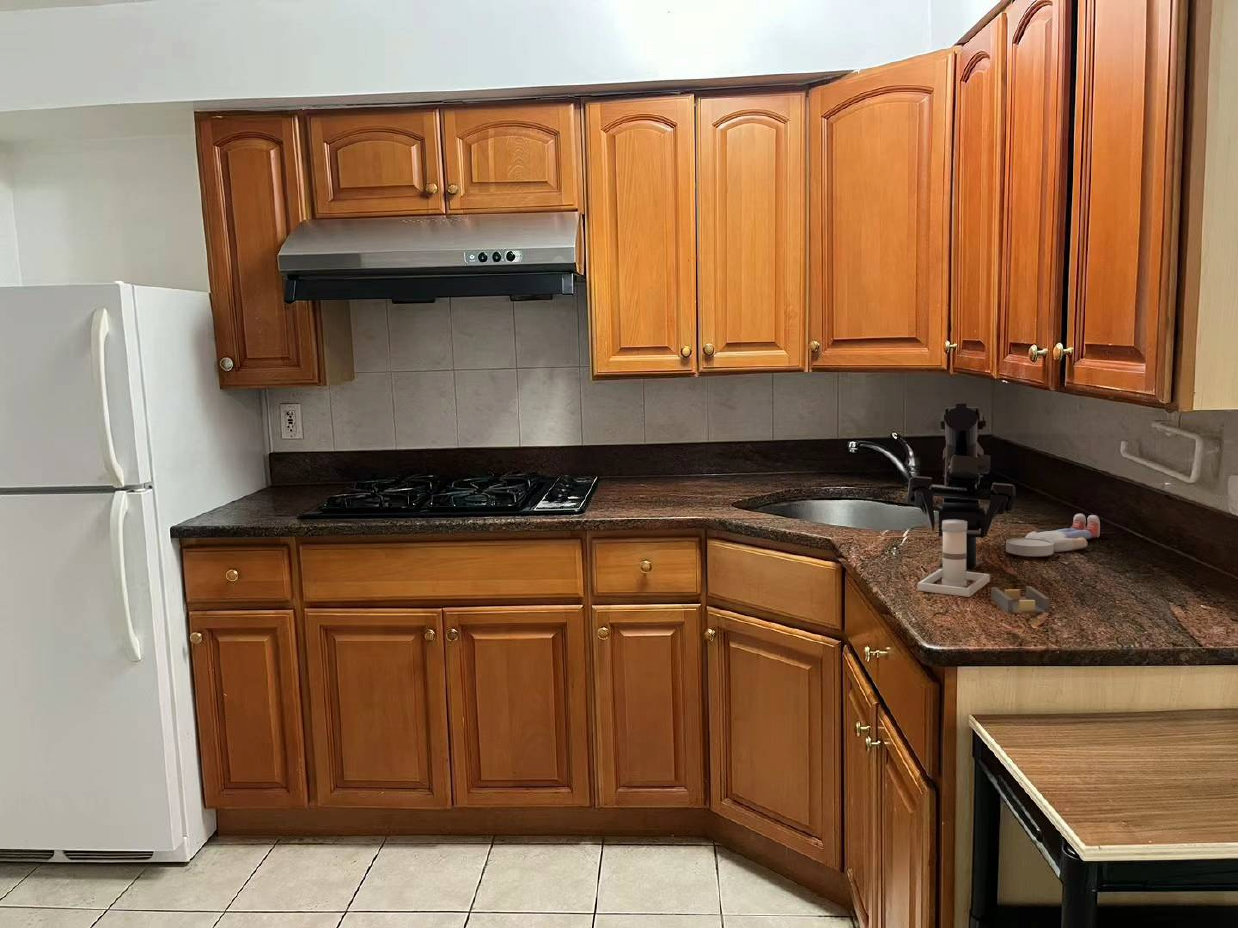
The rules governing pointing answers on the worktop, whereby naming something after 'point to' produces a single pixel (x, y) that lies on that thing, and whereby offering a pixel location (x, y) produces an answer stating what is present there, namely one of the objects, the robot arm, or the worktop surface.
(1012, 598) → the fuse holder
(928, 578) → the parts tray
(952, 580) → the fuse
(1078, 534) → the toy
